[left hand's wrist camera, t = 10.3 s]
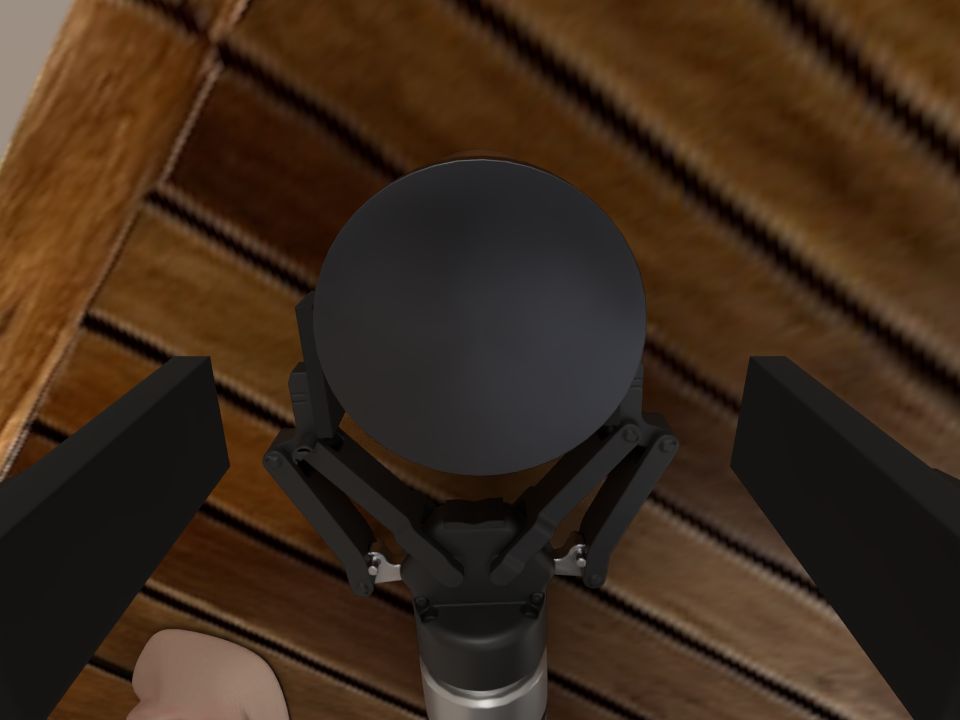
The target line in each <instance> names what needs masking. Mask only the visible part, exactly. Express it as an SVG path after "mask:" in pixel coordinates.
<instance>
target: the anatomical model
mask: <svg viewBox="0 0 960 720" xmlns="http://www.w3.org/2000/svg"><path fill="white" fill-rule="evenodd" d="M132 685H133V689H134V691H135V693H136V695H137V696H138V698H139V699H140V700H141V701H140V702H139V704H138V705H137V706H136V707H135V708H134V709H133V710H132V711H131V712H130V713H129V714H128V716H127V718H126V720H289V716H288V711H287V706H286V703H285V700H284V696H283V693H282V690H281V688H280V685H279V683H278V680H277V678H276V676H275V674H274V673H273V671H272V669H271V668H270V667H269V665H268V664H267V663H266V662H265V661H264V660H263V659H262V658H261V657H259V656H258V655H257V654H255V653H254V652H252V651H250V650H248V649H247V648H244V647H242V646H240V645H238V644H235V643H233V642H230V641H227V640H224V639H221V638H217V637H214V636H210V635H206V634H202V633H198V632H193V631H187V630H180V629H167V630H162V631H159V632H157V633H156V634H154V635H153V636H152V637H151V639H150V640H149V641H148V642H147V644H146V646H145V647H144V649H143V651H142V653H141V655H140V657H139V659H138V661H137V663H136V666H135V670H134V674H133V680H132Z"/></svg>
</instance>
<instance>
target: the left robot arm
mask: <svg viewBox="0 0 960 720" xmlns="http://www.w3.org/2000/svg"><path fill="white" fill-rule="evenodd" d="M229 467H230V463H229V458H228V452H227V447H226V441H225V436H224V430H223V425H222V419H221V414H220V409H219V403H218V398H217V392H216V387H215V381H214V376H213V370H212V365H211V359H210V356H174V357H173V358H172V359H170V360H169V361H168V362H167V363H165V364H164V365H163V366H161V367H160V368H159V369H157V370H156V371H155V372H154V373H152V374H151V375H150V376H148V377H147V378H146V379H144V380H143V381H142V382H140V383H139V384H138V385H137V386H135V387H134V388H133V389H131V390H130V391H129V392H127V393H126V394H125V395H124V396H122V397H121V398H120V399H118V400H117V401H116V402H114V403H113V404H112V405H110V406H109V407H108V408H107V409H105V410H104V411H103V412H101V413H100V414H99V415H97V416H96V417H95V418H94V419H92V420H91V421H90V422H88V423H87V424H86V425H84V426H83V427H82V428H80V429H79V430H78V431H77V432H75V433H74V434H73V435H71V436H70V437H69V438H67V439H66V440H65V441H64V442H62V443H61V444H60V445H58V446H57V447H56V448H54V449H53V450H52V451H51V452H49V453H48V454H47V455H45V456H44V457H43V458H41V459H40V460H39V461H37V462H36V463H35V464H34V465H32V466H31V467H30V468H28V469H27V470H26V471H23V472H21V473H19V474H17V475H15V476H13V477H11V478H9V479H7V480H5V481H3V482H0V720H46V719H47V718H48V716H49V715H50V713H51V712H52V711H53V709H54V708H55V707H56V705H57V704H58V702H59V701H60V700H61V698H62V697H63V696H64V694H65V693H66V691H67V690H68V689H69V687H70V686H71V685H72V683H73V682H74V680H75V679H76V678H77V676H78V675H79V674H80V672H81V671H82V669H83V668H84V667H85V665H86V664H87V662H88V661H89V660H90V658H91V657H92V656H93V654H94V653H95V651H96V650H97V649H98V647H99V646H100V645H101V643H102V642H103V640H104V639H105V638H106V636H107V635H108V634H109V632H110V631H111V629H112V628H113V627H114V625H115V624H116V623H117V621H118V620H119V618H120V617H121V616H122V614H123V613H124V612H125V610H126V609H127V607H128V606H129V605H130V603H131V602H132V601H133V599H134V598H135V596H136V595H137V594H138V592H139V591H140V590H141V588H142V587H143V585H144V584H145V583H146V581H147V580H148V579H149V577H150V576H151V574H152V573H153V572H154V570H155V569H156V568H157V566H158V565H159V563H160V562H161V561H162V559H163V558H164V556H165V555H166V554H167V552H168V551H169V550H170V548H171V547H172V545H173V544H174V543H175V541H176V540H177V539H178V537H179V536H180V534H181V533H182V532H183V530H184V529H185V528H186V526H187V525H188V523H189V522H190V521H191V519H192V518H193V517H194V515H195V514H196V512H197V511H198V510H199V508H200V507H201V506H202V504H203V503H204V501H205V500H206V499H207V497H208V496H209V495H210V493H211V492H212V490H213V489H214V488H215V486H216V485H217V484H218V482H219V481H220V479H221V478H222V477H223V475H224V474H225V473H226V471H227V470H228V468H229ZM730 467H731V468H732V470H733V471H734V473H735V474H736V475H737V477H738V478H739V479H740V481H741V482H742V484H743V485H744V486H745V488H746V489H747V490H748V492H749V493H750V495H751V496H752V497H753V499H754V500H755V501H756V503H757V504H758V506H759V507H760V508H761V510H762V511H763V512H764V514H765V515H766V517H767V518H768V519H769V521H770V522H771V523H772V525H773V526H774V528H775V529H776V530H777V532H778V533H779V534H780V536H781V537H782V539H783V540H784V541H785V543H786V544H787V545H788V547H789V548H790V550H791V551H792V552H793V554H794V555H795V556H796V558H797V559H798V561H799V562H800V563H801V565H802V566H803V568H804V569H805V570H806V572H807V573H808V574H809V576H810V577H811V579H812V580H813V581H814V583H815V584H816V585H817V587H818V588H819V590H820V591H821V592H822V594H823V595H824V596H825V598H826V599H827V601H828V602H829V603H830V605H831V606H832V607H833V609H834V610H835V612H836V613H837V614H838V616H839V617H840V618H841V620H842V621H843V623H844V624H845V625H846V627H847V628H848V629H849V631H850V632H851V634H852V635H853V636H854V638H855V639H856V640H857V642H858V643H859V645H860V646H861V647H862V649H863V650H864V651H865V653H866V654H867V656H868V657H869V658H870V660H871V661H872V663H873V664H874V665H875V667H876V668H877V669H878V671H879V672H880V674H881V675H882V676H883V678H884V679H885V680H886V682H887V683H888V685H889V686H890V687H891V689H892V690H893V691H894V693H895V694H896V696H897V697H898V698H899V700H900V701H901V702H902V704H903V705H904V707H905V708H906V709H907V711H908V712H909V713H910V715H911V716H912V718H913V719H914V720H960V480H959V479H957V478H954V477H952V476H950V475H948V474H946V473H944V472H942V471H940V470H938V469H932V468H930V467H929V466H928V465H926V464H925V463H924V462H923V461H921V460H920V459H919V458H917V457H916V456H915V455H913V454H912V453H911V452H909V451H908V450H907V449H906V448H904V447H903V446H902V445H900V444H899V443H898V442H896V441H895V440H894V439H893V438H891V437H890V436H889V435H887V434H886V433H885V432H883V431H882V430H881V429H880V428H878V427H877V426H876V425H874V424H873V423H872V422H870V421H869V420H868V419H866V418H865V417H864V416H863V415H861V414H860V413H859V412H857V411H856V410H855V409H853V408H852V407H851V406H850V405H848V404H847V403H846V402H844V401H843V400H842V399H840V398H839V397H838V396H836V395H835V394H834V393H833V392H831V391H830V390H829V389H827V388H826V387H825V386H823V385H822V384H821V383H820V382H818V381H817V380H816V379H814V378H813V377H812V376H810V375H809V374H808V373H806V372H805V371H804V370H803V369H801V368H800V367H799V366H797V365H796V364H795V363H793V362H792V361H791V360H790V359H788V358H787V357H786V356H750V359H749V365H748V370H747V376H746V381H745V387H744V392H743V398H742V403H741V409H740V414H739V419H738V425H737V430H736V436H735V441H734V447H733V452H732V458H731V463H730Z"/></svg>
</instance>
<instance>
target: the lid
mask: <svg viewBox="0 0 960 720" xmlns="http://www.w3.org/2000/svg"><path fill="white" fill-rule="evenodd" d="M313 323H314V336H315V342H316V348H317V353H318V356H319V360H320V363H321V366H322V370H323V372H324V374H325V377H326V379H327V381H328V383H329V385H330V388H331V390H332V391H333V393H334V394H335V396H336V398H337V399H338V401H339V402H340V404H341V406H342V407H343V408H344V410H345V411H346V412H347V413H348V414H349V416H350V417H351V418H352V419H353V421H354V422H355V423H356V424H357V425H358V426H359V427H360V428H361V429H362V430H363V431H365V432H366V433H367V434H368V435H369V436H370V437H371V438H373V439H374V440H375V441H377V442H378V443H379V444H381V445H382V446H383V447H385V448H386V449H388V450H390V451H392V452H393V453H395V454H397V455H398V456H400V457H402V458H404V459H407V460H409V461H411V462H413V463H416V464H418V465H421V466H424V467H427V468H431V469H434V470H437V471H442V472H447V473H452V474H458V475H472V476H487V475H501V474H507V473H514V472H519V471H522V470H526V469H530V468H533V467H536V466H539V465H541V464H544V463H546V462H549V461H551V460H554V459H556V458H558V457H559V456H561V455H563V454H565V453H567V452H569V451H571V450H572V449H574V448H575V447H576V446H578V445H579V444H581V443H582V442H583V441H585V440H586V439H588V438H589V437H590V436H591V435H592V434H593V433H594V432H595V431H596V430H598V429H599V428H600V427H601V426H602V425H603V424H604V423H605V422H606V420H607V419H608V418H609V417H610V416H611V415H612V413H613V412H614V411H615V410H616V408H617V407H618V405H619V404H620V402H621V401H622V399H623V398H624V396H625V395H626V393H627V391H628V389H629V387H630V385H631V383H632V381H633V379H634V377H635V375H636V372H637V369H638V366H639V363H640V360H641V357H642V353H643V348H644V343H645V337H646V323H647V310H646V298H645V291H644V287H643V282H642V278H641V274H640V271H639V268H638V266H637V263H636V260H635V258H634V255H633V253H632V251H631V249H630V247H629V246H628V244H627V242H626V240H625V238H624V236H623V235H622V233H621V232H620V231H619V229H618V228H617V227H616V225H615V224H614V223H613V221H612V220H611V219H610V217H609V216H608V215H607V214H606V213H605V212H604V211H603V210H602V209H601V208H600V207H599V206H598V205H597V204H596V203H595V202H594V201H593V200H592V199H590V198H589V197H588V196H586V195H585V194H584V193H582V192H581V191H580V190H578V189H577V188H576V187H574V186H573V185H572V184H570V183H569V182H567V181H566V180H564V179H562V178H560V177H558V176H557V175H555V174H553V173H551V172H549V171H548V170H545V169H543V168H540V167H538V166H535V165H532V164H530V163H527V162H523V161H519V160H515V159H510V158H506V157H496V156H485V155H479V156H461V157H455V158H450V159H445V160H440V161H437V162H434V163H431V164H428V165H425V166H422V167H419V168H417V169H415V170H413V171H411V172H409V173H407V174H405V175H403V176H401V177H399V178H398V179H396V180H395V181H393V182H392V183H390V184H389V185H388V186H386V187H385V188H383V189H382V190H380V191H379V192H377V193H376V194H375V195H373V196H372V197H371V198H370V199H369V200H367V201H366V202H365V203H364V204H363V205H362V206H361V207H360V208H359V209H358V210H357V211H356V212H355V213H354V214H353V215H352V216H351V218H350V219H349V220H348V221H347V223H346V224H345V225H344V226H343V228H342V229H341V230H340V232H339V234H338V235H337V237H336V239H335V240H334V242H333V244H332V245H331V247H330V249H329V251H328V253H327V256H326V258H325V260H324V263H323V265H322V268H321V271H320V275H319V278H318V282H317V286H316V290H315V299H314V308H313Z"/></svg>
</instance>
